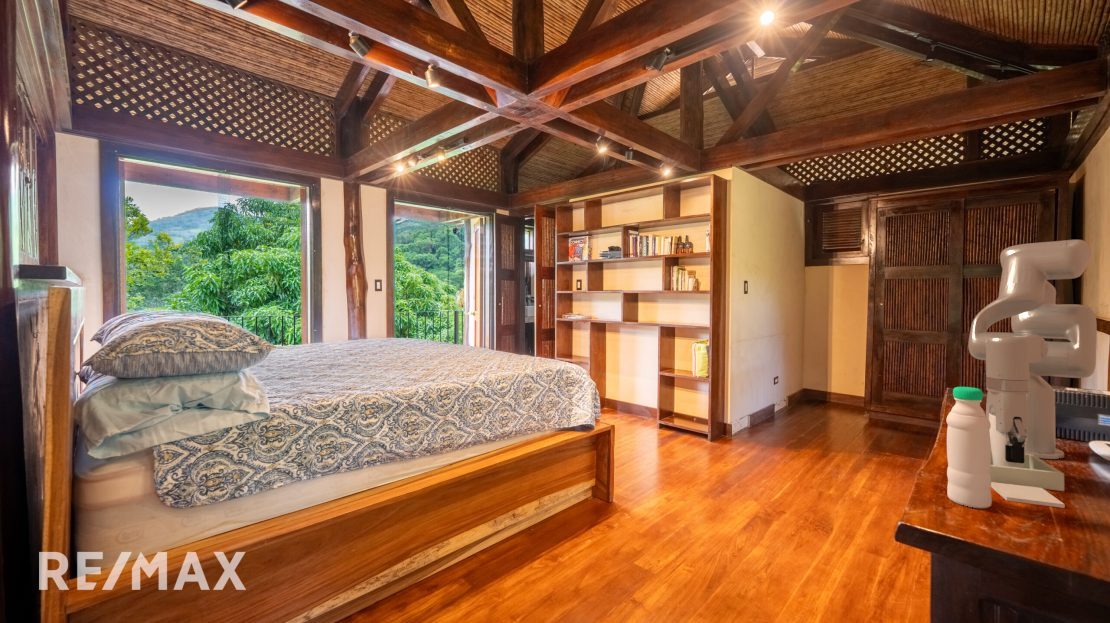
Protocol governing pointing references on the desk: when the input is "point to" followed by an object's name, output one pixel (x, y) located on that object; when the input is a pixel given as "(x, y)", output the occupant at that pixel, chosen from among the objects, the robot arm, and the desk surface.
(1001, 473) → the beige square frame
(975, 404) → the water bottle
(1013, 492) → the ceramic tile
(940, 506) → the desk surface
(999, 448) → the drinking glass
